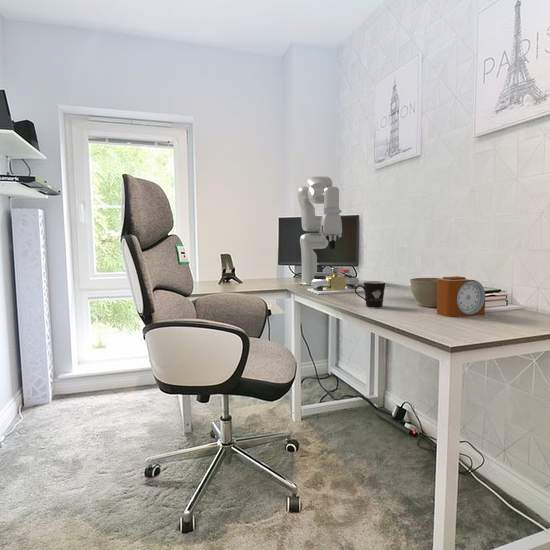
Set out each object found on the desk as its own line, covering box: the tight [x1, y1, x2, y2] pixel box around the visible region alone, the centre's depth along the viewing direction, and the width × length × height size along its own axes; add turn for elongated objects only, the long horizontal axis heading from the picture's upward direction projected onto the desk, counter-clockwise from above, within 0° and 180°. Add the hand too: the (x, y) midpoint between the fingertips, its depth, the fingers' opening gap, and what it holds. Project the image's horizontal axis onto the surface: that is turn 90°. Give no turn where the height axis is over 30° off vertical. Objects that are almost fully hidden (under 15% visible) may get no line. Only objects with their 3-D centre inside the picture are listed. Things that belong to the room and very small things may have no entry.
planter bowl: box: [409, 277, 441, 308], centre depth 154 cm, size 16×16×11 cm
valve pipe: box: [310, 271, 360, 291], centre depth 203 cm, size 7×26×10 cm, turn 107°
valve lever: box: [331, 267, 350, 274], centre depth 198 cm, size 15×4×2 cm, turn 17°
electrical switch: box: [314, 271, 331, 280], centre depth 217 cm, size 9×5×9 cm, turn 57°
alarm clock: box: [436, 275, 486, 318], centre depth 137 cm, size 15×8×14 cm, turn 105°
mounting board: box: [306, 286, 365, 295], centre depth 203 cm, size 16×27×1 cm, turn 107°
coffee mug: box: [354, 280, 386, 308], centre depth 156 cm, size 12×9×10 cm
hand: (331, 248), depth 191 cm, fingers closed
